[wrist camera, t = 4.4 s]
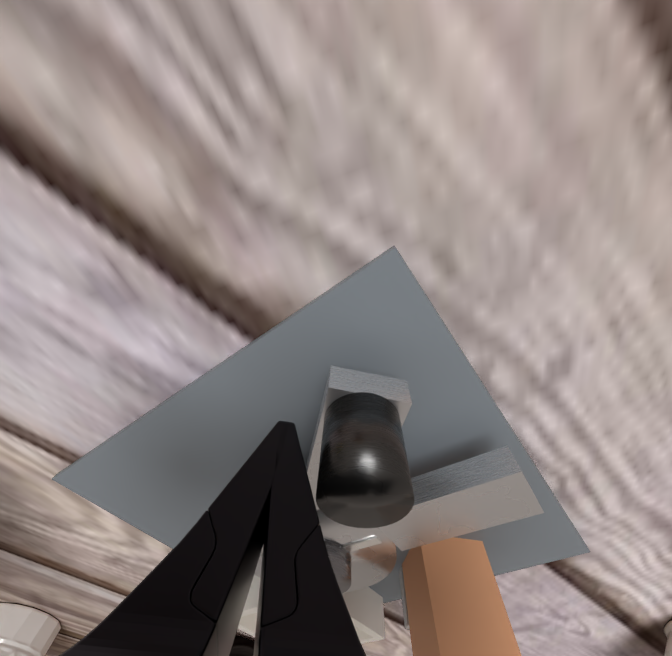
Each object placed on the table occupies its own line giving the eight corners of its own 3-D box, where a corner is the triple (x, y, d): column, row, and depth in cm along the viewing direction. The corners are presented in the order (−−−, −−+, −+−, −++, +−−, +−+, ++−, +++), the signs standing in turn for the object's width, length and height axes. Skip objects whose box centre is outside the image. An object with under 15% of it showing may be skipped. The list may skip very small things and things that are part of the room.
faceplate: (303, 618, 27) (297, 675, 24) (56, 474, 18) (-1, 534, 15) (587, 546, 19) (628, 615, 16) (394, 245, 11) (409, 278, 8)
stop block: (401, 564, 21) (418, 702, 15) (418, 532, 19) (444, 678, 13) (459, 571, 21) (495, 711, 16) (482, 541, 19) (532, 688, 14)
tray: (299, 618, 26) (294, 657, 24) (229, 577, 23) (217, 618, 21) (382, 597, 23) (385, 638, 21) (315, 548, 20) (311, 591, 18)
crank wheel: (301, 579, 19) (289, 674, 15) (140, 462, 14) (70, 562, 11) (545, 514, 15) (606, 626, 11) (433, 313, 10) (478, 399, 6)
